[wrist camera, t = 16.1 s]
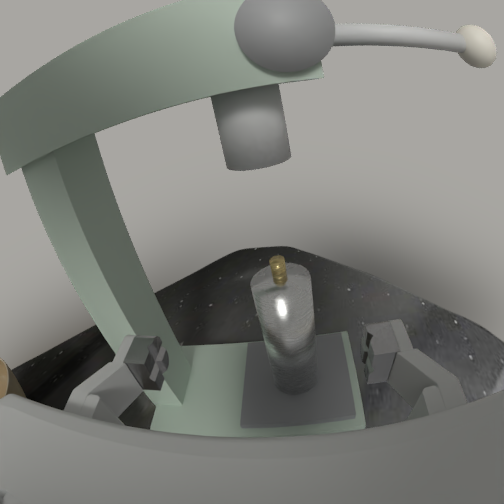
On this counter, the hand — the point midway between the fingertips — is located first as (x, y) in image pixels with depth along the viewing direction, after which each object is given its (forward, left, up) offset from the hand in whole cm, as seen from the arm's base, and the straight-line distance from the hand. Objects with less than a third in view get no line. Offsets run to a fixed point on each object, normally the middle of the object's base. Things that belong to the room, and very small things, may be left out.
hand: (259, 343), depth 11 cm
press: (0, +12, -24) cm, 27 cm away
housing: (0, +12, -20) cm, 24 cm away
